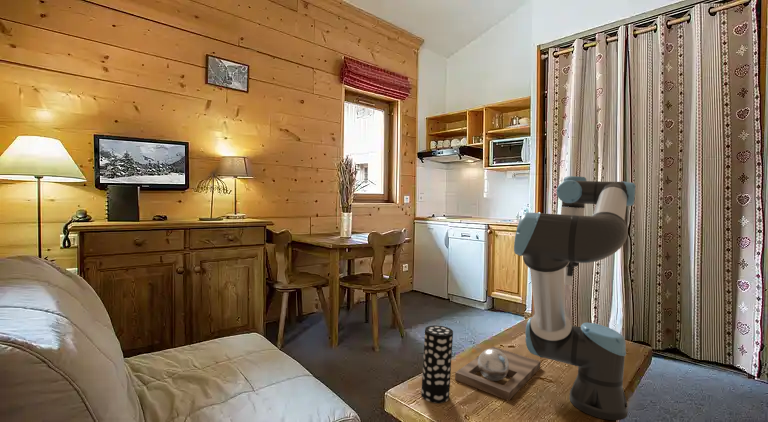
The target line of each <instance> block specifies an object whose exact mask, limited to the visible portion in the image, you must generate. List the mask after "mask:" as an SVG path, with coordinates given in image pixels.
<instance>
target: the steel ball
mask: <svg viewBox="0 0 768 422" xmlns="http://www.w3.org/2000/svg"><path fill="white" fill-rule="evenodd" d="M478 368H479V371H478V372H480V374H481V375H482V377H483V378H485V379H488V380H490V381H493V382H498V381H500V380H503V379H504V378H505V377H507V376H506V375H507V373H508V370H509V362H508V359H507V357H506V356H505V355H504V354H503V353H502V352H501V351H499V350H497V349H490V348H486V349H484V350H483V351H482V352H481V353H480V354H479V358H478Z"/></svg>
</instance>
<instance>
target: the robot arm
mask: <svg viewBox="0 0 768 422" xmlns="http://www.w3.org/2000/svg"><path fill="white" fill-rule="evenodd" d="M636 186H637V185H636V183H634V182H630V181H623V180H621V181H603V180H602V181H601V180H600V181H596V180H592V181H591V180H587V178H586V177H585V176H578V175H577V176H572V175H571V176H569V175H568V176H565V177H564V178H563V181H561V183H559V184H558V186H557V188H556V195H557V198H558V199H559V200H560V201H561V208H560V209H561V210H560V211H561V212H560V214H559V213H557V214H556V213H543V212H542V213H541V212H540V211H538V212H525V213H523V214H522V215H521V216H520V218H519V221H518V223H517V227H516V230H515V236H514V243H513V252H514V254H515V255H516V256H519V257H522V260H523V263H524V264H525V266H526V267H527V268H529V273H530V279H531V281H530V282H531V290H532V299H533V310H534V313H533V316H532V317H531V316H530V317H529V319H528V320H527V322H526V325H525V345H526V349H527V351H528V352H529V353H530V354H531V355H535V356H537V357H539V358H542V359H547V360H552V361H556V362H560V363H563V364H568V365H571V366H575V367H578V368H577V375H576V378H575V380H574V382H573V385H572V387H571V388H570V390H569V401H570V403H571V404H572V405H573V406H574V407H575V408H576V409H578V410H579V411H581V412H583V413H584V414H587V415H590V416H592V417H595V418H597V419H603V420H608V421H621V420H625V419H626V418H627V417H628V412H629V405H628V403H627V398H626V394H625V390H624V387H623V384H624V383H623V382H624V371H625V370H624V369H625V357H626V356H627V350H626V344H627V343H626V340H625V337H624V336H623V335H622V334H621V333H620V332H618V331H617V330H614V329H613V328H611V327H608V326H605V325H602V324H599V323H595V322H592V323H591V322H583V323H582V324H581V325H580V326H578V325H572V322H571V319H570V318H569V317H568V316H567V314H566V313H567V311H566V288H565V287H566V285H567V286H568V285H569V286H571V285H573V275H574V268H575V267H578V266H579V264H589V263H594V262H599V261H601V260H604V259H606V258H608V257H610V256H612V255H614V254H615V253H617V252H619V250H620V249H621V248H622V247H623V246H624V244H625V242H626V241H627V239H628V235H629V233H628V232H629V228H628V224H627V222H626V220H625V219H626V218H625V217H626V210H627V207H631V206H633V205H634V204H635V196H636ZM586 204H587V205H595V207H594V211H593V212H592V213H593V214H592V215H585V207H586V206H585V205H586Z"/></svg>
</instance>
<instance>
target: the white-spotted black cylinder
mask: <svg viewBox="0 0 768 422" xmlns="http://www.w3.org/2000/svg"><path fill="white" fill-rule="evenodd" d="M423 338H424V342H423V356H422V357H423V358H422V359H423V360H422V372H421V373H422V376H421V391H420V392H421V394H420V395H421V398H422V399H424V400H425V401H427V402H429V403H432V404H433V403H434V404H443V403H446V402H448V401H449V400H450V389H451V388H450V386H451V373H452V371H451V370H452V357H453V354H452V353H453V342H454V341H453V340H454V331H453V330H452V329H451V328H450V327H448V326H444V325H433V324H432V325H429V326H426V327H425V329H424V337H423Z"/></svg>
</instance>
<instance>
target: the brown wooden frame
mask: <svg viewBox="0 0 768 422" xmlns="http://www.w3.org/2000/svg"><path fill="white" fill-rule="evenodd" d="M489 349H497V350H499V351H501V352H502V353H503V354H504V355H505V356H506V357H507V359H508V362H509V370H508V373H507V375H506V376H505V377H508V378H509V379H508V381H506V382H505V383H504V384H501V383H498V382H497V381H491V380H488V379H486V378H485V377H483V376H480V375H477V373H478V372H480V371H479V368H478V358H479V356H480V355H479V356H477V357H476V358H474V359H473V360H471V361H469V362H468V363H467V364H465V365H463V367H461V368H459V369H458V370H456V371H455V377H454V379H455V381H458V382H460V383H462V384H465V385H468V386H471V387H473V388H475V389H478V390H480V391H484V392H486V393H487V394H491V395H493V396H496V397H499V398H501V399H504V400H506V401H510V400H511V399H512V398H513V397H514V396H515V395H516V394H517V393H518V392H519V390H521V389H522V388H523V387H524V386H525V385H526V384H527V382H529V380H530V379H531V378H532V377H534V375H535V374H536V373H537V372H538V371H539V370H540V369H541V362H542V361H541V360H537V359H534V358H531V357H527V356H524V355H522V354H518V353H515V352H512V351H509V350H505V349H502V348H499V347H496V346H491V347H490V348H489Z"/></svg>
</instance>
